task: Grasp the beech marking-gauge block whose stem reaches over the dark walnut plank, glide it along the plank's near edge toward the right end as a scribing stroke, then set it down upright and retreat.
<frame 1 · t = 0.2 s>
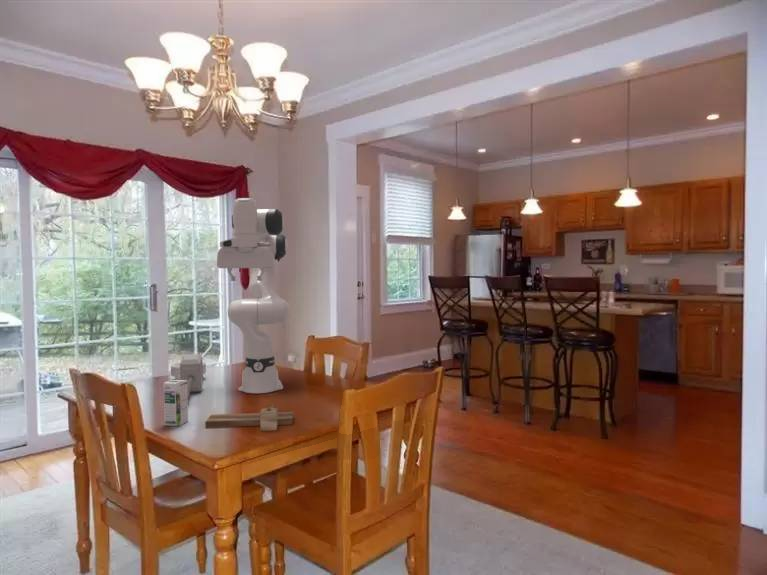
hand: (246, 280, 189), 48 cm above the table, fingers open, 8 cm apart
syrup box: (176, 424, 176), on the table
gray cross block: (188, 380, 241), on the table
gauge: (269, 428, 170), on the table
plank: (250, 422, 176), on the table
hammer: (189, 398, 209), on the table
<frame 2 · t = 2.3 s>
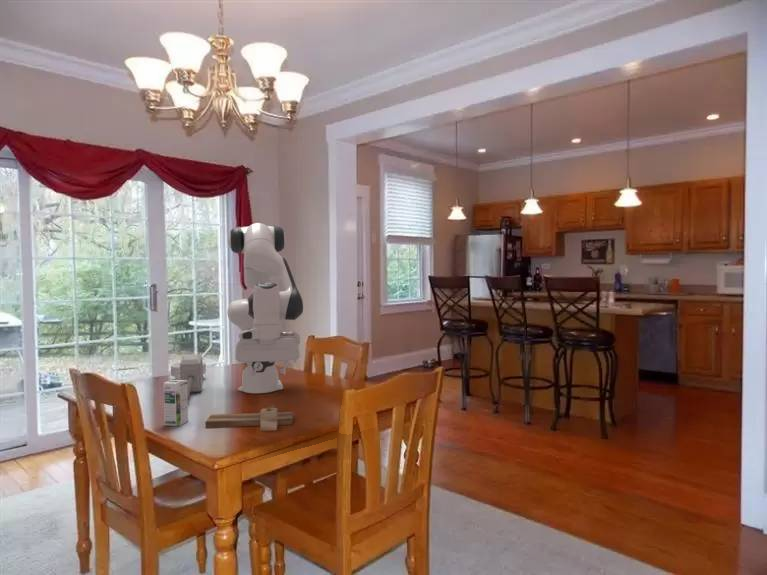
hand: (268, 374, 169), 18 cm above the table, fingers open, 8 cm apart
nothing on the table moved.
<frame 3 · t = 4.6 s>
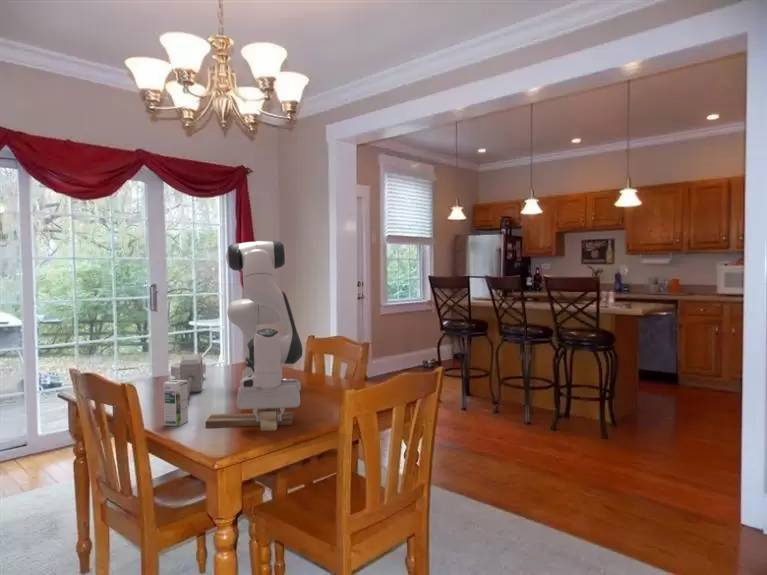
hand: (269, 421, 170), 2 cm above the table, fingers closed on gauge, 5 cm apart
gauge: (269, 428, 170), on the table, touching gripper
everything else where it was.
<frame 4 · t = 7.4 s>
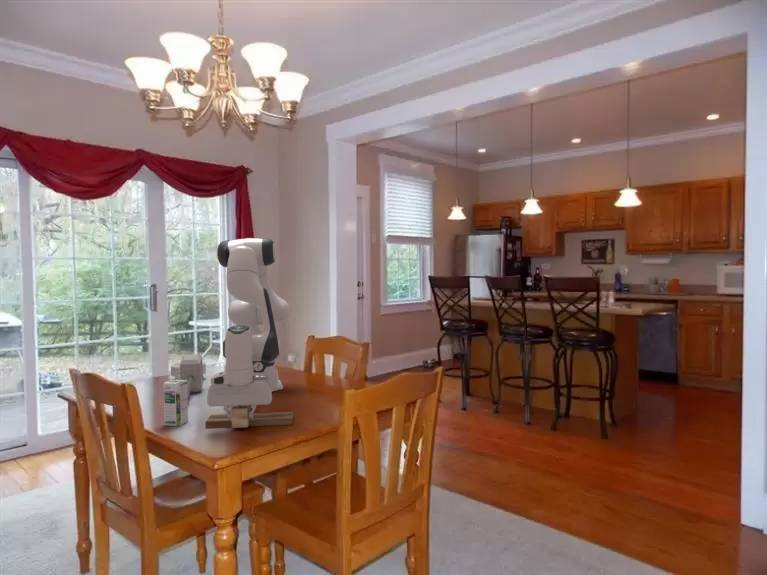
hand: (240, 418, 169), 4 cm above the table, fingers closed on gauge, 5 cm apart
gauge: (240, 425, 169), point 1 cm above the table, touching gripper
everything else where it was.
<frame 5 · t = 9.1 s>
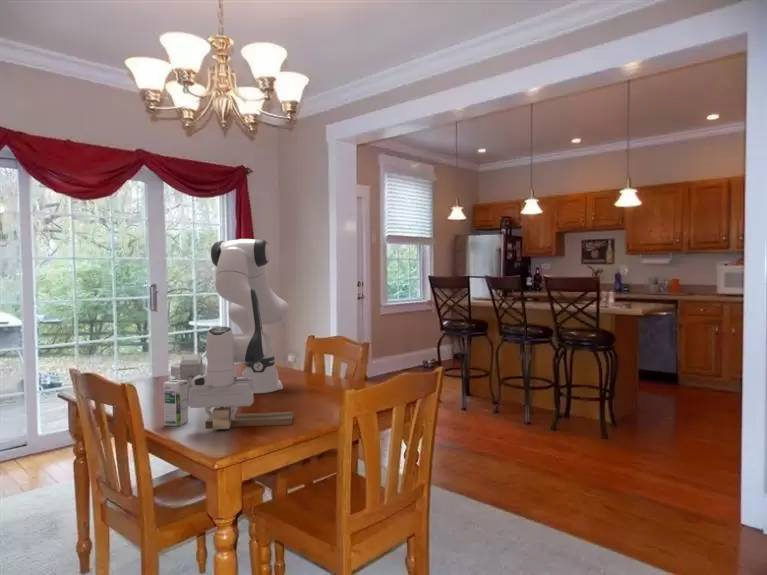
hand: (222, 420, 169), 3 cm above the table, fingers closed on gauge, 5 cm apart
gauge: (222, 427, 169), point 1 cm above the table, touching gripper
everything else where it was.
when the fingers open (2 cm above the table, at t = 10.3 s): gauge stays where it is, on the table.
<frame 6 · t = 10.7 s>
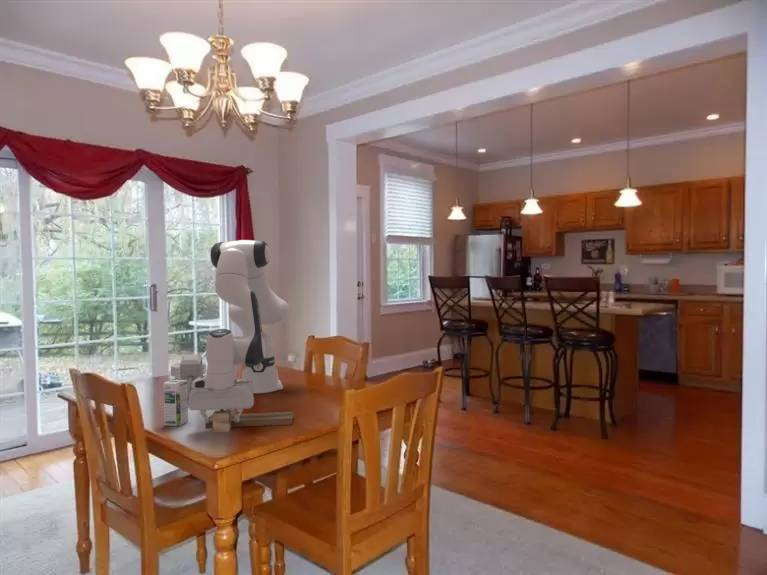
hand: (222, 422, 169), 2 cm above the table, fingers open, 8 cm apart
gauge: (222, 430, 169), on the table
everything else where it was.
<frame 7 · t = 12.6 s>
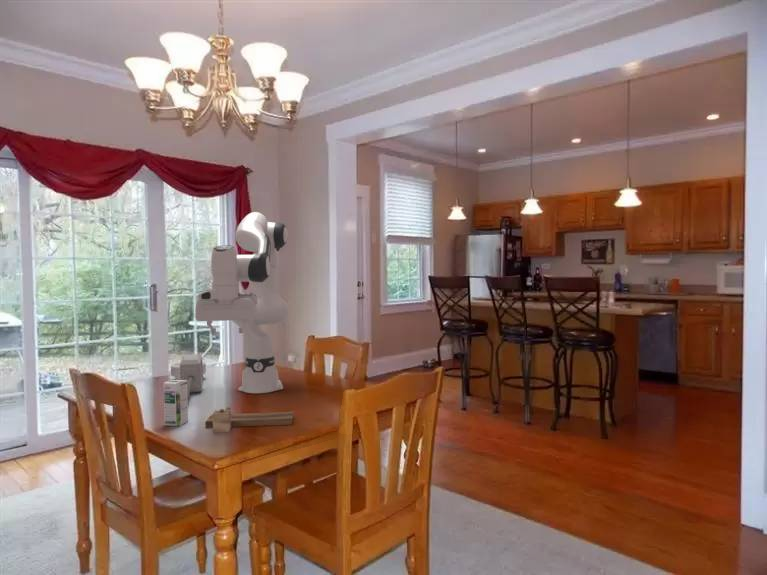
hand: (227, 333, 179), 30 cm above the table, fingers open, 8 cm apart
nothing on the table moved.
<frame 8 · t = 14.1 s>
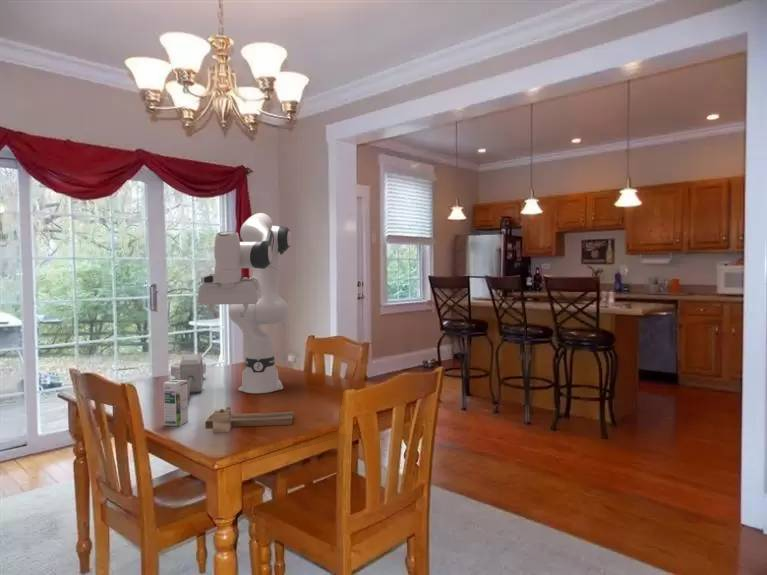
hand: (229, 317, 182), 35 cm above the table, fingers open, 8 cm apart
nothing on the table moved.
at the end: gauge inside the target area (0.0 cm from its centre), on the table; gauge tilted 0°; the gripper is holding nothing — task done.
